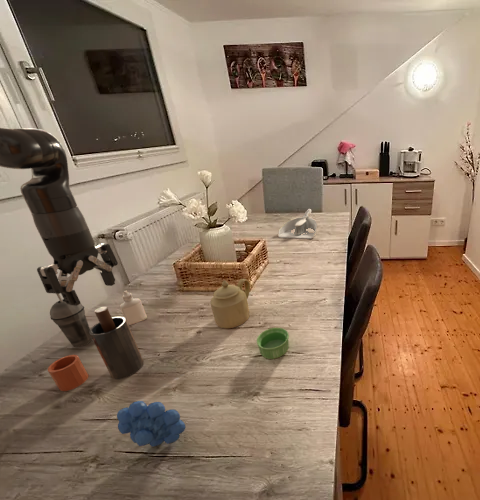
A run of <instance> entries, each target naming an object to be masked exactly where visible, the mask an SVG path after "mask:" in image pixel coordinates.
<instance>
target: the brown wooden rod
mask: <svg viewBox="0 0 480 500" xmlns="http://www.w3.org/2000/svg"><path fill="white" fill-rule="evenodd" d="M94 314H95V316H96V318H97V321H98V323H99V322H100V324H101V326H102V329H103V331H104V333H106V332H109V331H111V330H114V329H116V326H115V324H114V322H113V320H112V315H111V313H110V311H109V308H108V307H107V306H101V307H98V308H96V309H95V310H94Z"/></svg>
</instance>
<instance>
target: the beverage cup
mask: <svg viewBox="0 0 480 500" xmlns="http://www.w3.org/2000/svg"><path fill="white" fill-rule="evenodd" d="M56 296H57V298H58V301H56V302H54V303H53V304H52V306H51V307H50V309H49V317H50V319H51V320H52V321H53V323H54V324H55V325H57V327H58V328H59V329H60V331H61V332H62V333H63V335H64V336H65V338H66V339H67V340H68V342H69V343H70V344H71V345H72V346H73V347H74V348H79V347H84V346H86V345H88V344H89V343H91V342H92V341H93V339H92V337H91V335H90V333H89V331H90V329H91V328H90V325H89V322H88V319H87V316H86V310H85V306H84V305H83V304H82V303H80V304H79V305H77V306H74V305H70V304H67V303H66V302H65V300H64V298H63V297H61V296H62V295H61V294H56Z"/></svg>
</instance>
